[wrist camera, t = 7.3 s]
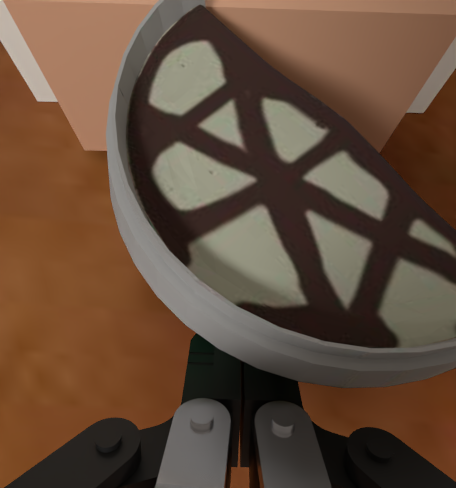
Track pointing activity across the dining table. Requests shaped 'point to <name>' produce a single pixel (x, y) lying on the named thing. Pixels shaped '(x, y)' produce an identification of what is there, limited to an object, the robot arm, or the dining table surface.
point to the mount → (10, 36)
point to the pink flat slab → (260, 41)
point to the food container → (272, 214)
